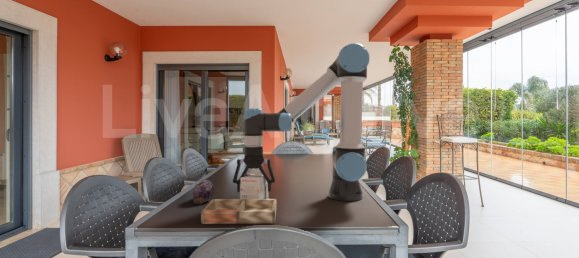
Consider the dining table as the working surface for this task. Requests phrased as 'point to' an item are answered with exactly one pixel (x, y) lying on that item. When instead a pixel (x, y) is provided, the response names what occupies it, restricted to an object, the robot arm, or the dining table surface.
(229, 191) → the dining table surface
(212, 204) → the divided tray
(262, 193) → the ink box
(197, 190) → the rock
